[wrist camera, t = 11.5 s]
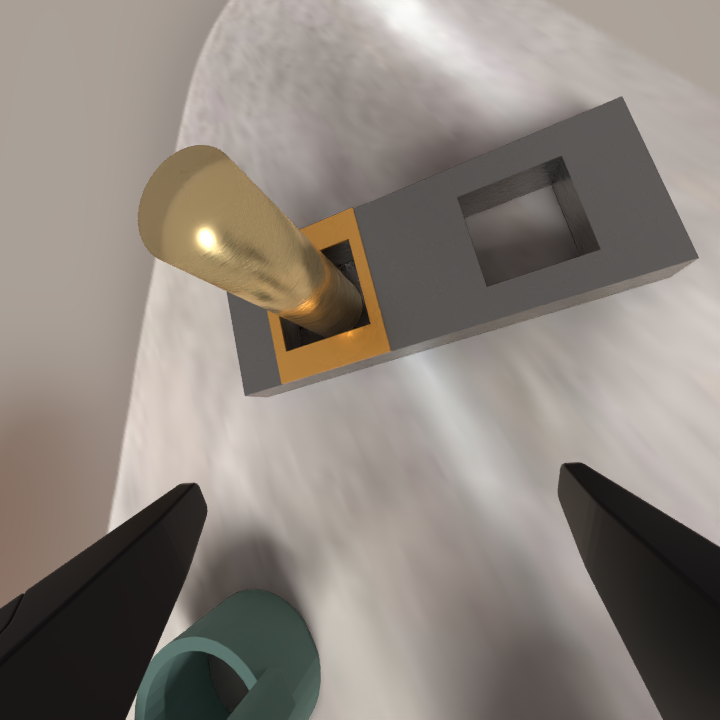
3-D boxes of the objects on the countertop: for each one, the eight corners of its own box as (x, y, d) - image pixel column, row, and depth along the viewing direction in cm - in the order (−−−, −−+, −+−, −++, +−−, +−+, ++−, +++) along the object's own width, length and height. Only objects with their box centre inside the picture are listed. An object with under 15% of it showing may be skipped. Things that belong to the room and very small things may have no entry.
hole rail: (604, 132, 20) (623, 92, 18) (670, 277, 18) (701, 256, 16) (244, 277, 26) (219, 263, 24) (266, 397, 25) (242, 395, 22)
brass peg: (349, 346, 23) (211, 276, 11) (298, 327, 25) (121, 247, 12) (371, 288, 23) (257, 154, 11) (318, 272, 25) (164, 137, 12)
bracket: (185, 692, 24) (25, 852, 15) (231, 558, 24) (99, 643, 15) (301, 784, 21) (184, 1045, 12) (353, 631, 21) (273, 785, 13)
